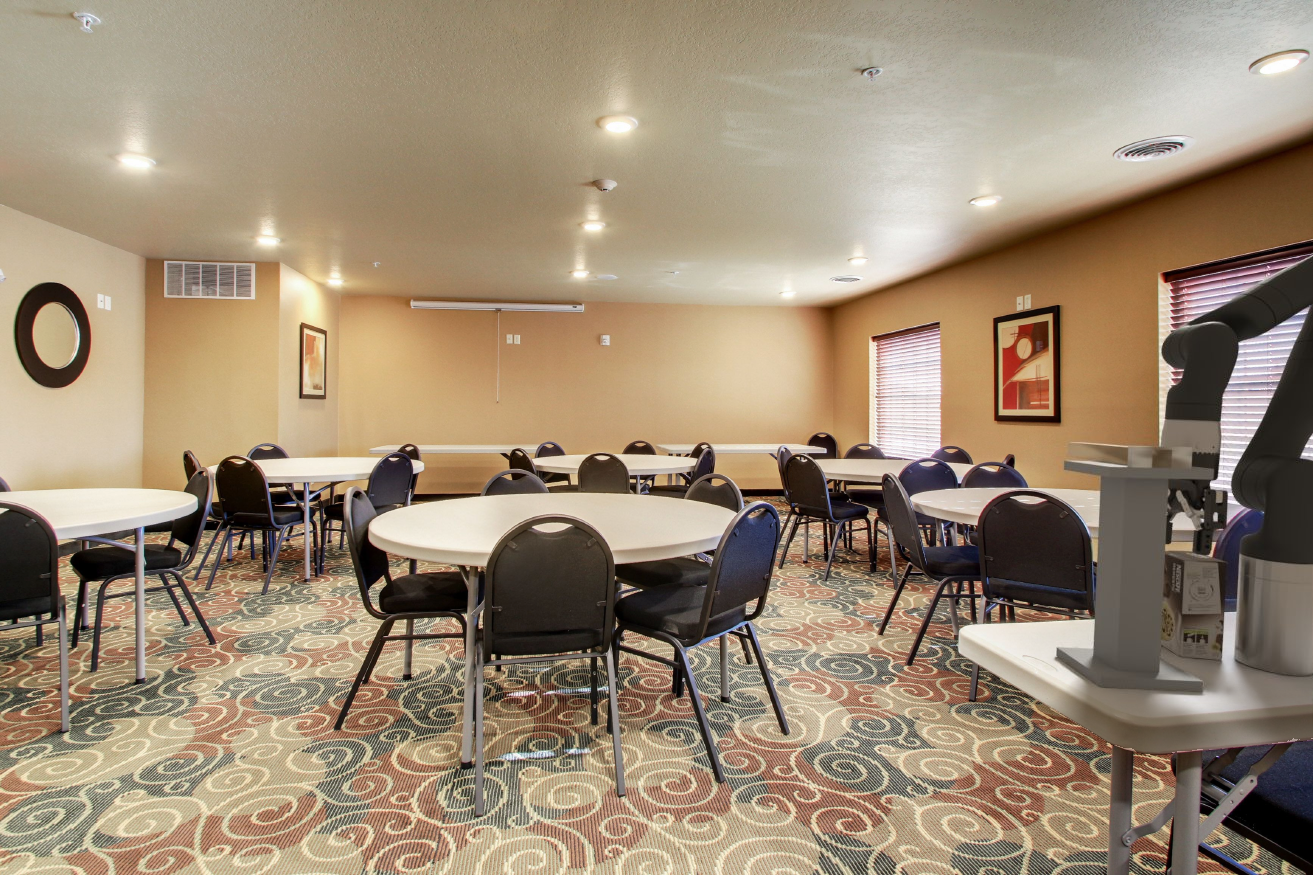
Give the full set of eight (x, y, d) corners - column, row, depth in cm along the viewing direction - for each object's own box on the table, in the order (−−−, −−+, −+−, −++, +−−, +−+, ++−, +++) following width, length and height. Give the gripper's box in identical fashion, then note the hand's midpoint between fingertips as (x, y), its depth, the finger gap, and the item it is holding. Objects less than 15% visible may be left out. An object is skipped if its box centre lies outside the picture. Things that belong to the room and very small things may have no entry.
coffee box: (1224, 661, 106) (1229, 562, 105) (1179, 657, 107) (1184, 559, 106) (1190, 641, 115) (1195, 550, 114) (1149, 638, 116) (1153, 548, 115)
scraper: (1098, 457, 115) (1099, 440, 114) (1191, 468, 93) (1192, 447, 93) (1051, 456, 115) (1051, 439, 115) (1131, 467, 93) (1132, 446, 93)
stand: (1146, 659, 106) (1155, 462, 104) (1202, 691, 94) (1213, 468, 92) (1056, 656, 107) (1064, 460, 105) (1100, 686, 95) (1109, 466, 93)
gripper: (1251, 453, 98) (1241, 560, 99) (1182, 448, 112) (1173, 541, 113) (1198, 450, 98) (1189, 557, 99) (1136, 445, 113) (1128, 538, 113)
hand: (1181, 548), depth 106 cm, fingers open, 8 cm apart
